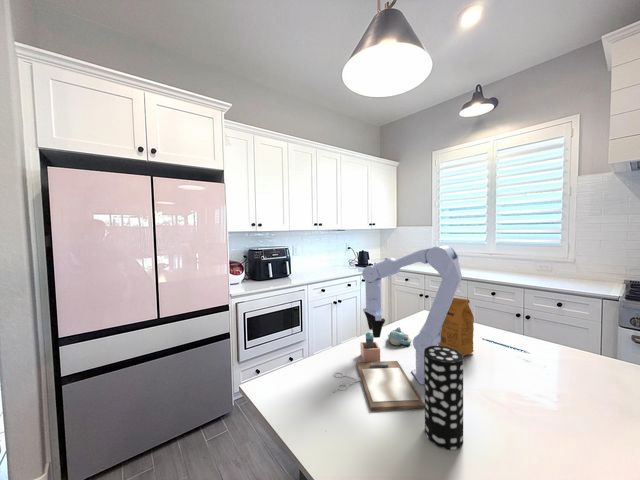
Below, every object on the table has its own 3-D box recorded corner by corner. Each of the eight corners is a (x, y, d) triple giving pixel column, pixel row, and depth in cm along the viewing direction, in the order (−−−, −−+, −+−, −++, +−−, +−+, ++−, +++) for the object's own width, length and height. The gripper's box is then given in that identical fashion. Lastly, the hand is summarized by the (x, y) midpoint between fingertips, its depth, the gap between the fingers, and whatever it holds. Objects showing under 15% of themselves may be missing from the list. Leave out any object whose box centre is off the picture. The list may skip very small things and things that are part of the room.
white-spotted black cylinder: (418, 423, 66) (418, 346, 66) (450, 421, 67) (449, 344, 66) (435, 451, 58) (435, 363, 57) (471, 448, 59) (471, 361, 58)
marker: (372, 355, 102) (372, 332, 101) (374, 359, 99) (374, 335, 98) (365, 355, 101) (364, 332, 101) (366, 359, 98) (366, 335, 98)
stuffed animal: (417, 328, 115) (405, 331, 106) (416, 345, 114) (404, 349, 105) (395, 322, 122) (382, 325, 113) (394, 338, 121) (380, 342, 113)
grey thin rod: (482, 339, 115) (482, 338, 115) (530, 354, 101) (531, 352, 101) (481, 340, 114) (482, 338, 114) (530, 354, 100) (530, 353, 100)
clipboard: (397, 363, 96) (397, 358, 96) (425, 408, 72) (425, 401, 72) (356, 365, 96) (356, 359, 95) (371, 410, 72) (371, 403, 71)
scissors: (328, 372, 91) (385, 368, 92) (328, 374, 91) (385, 370, 92) (332, 391, 80) (396, 386, 81) (332, 394, 80) (396, 389, 82)
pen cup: (376, 354, 103) (376, 341, 103) (380, 362, 97) (380, 348, 97) (360, 354, 103) (360, 342, 103) (363, 362, 97) (363, 349, 97)
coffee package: (451, 341, 113) (451, 291, 112) (477, 354, 101) (477, 298, 100) (433, 345, 109) (433, 293, 108) (458, 359, 98) (457, 301, 97)
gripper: (359, 293, 105) (360, 326, 106) (366, 303, 91) (367, 341, 91) (376, 292, 105) (377, 325, 106) (387, 302, 91) (387, 340, 91)
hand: (374, 333), depth 99 cm, fingers open, 7 cm apart
